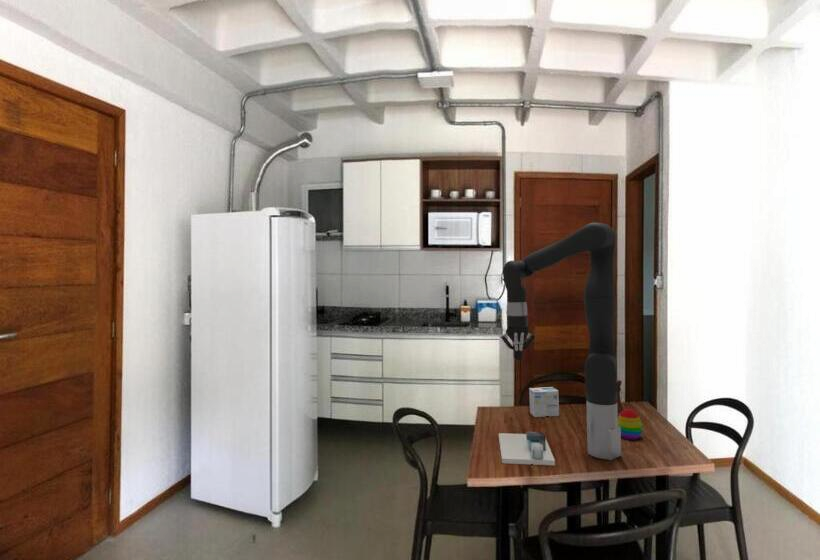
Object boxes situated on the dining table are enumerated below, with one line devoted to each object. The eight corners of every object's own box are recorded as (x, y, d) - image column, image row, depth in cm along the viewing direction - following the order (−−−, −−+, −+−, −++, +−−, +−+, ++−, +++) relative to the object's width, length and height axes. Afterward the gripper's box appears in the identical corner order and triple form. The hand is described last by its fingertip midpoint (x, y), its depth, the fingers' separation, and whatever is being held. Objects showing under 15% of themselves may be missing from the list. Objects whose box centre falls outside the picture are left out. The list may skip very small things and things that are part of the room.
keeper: (545, 450, 142) (545, 436, 142) (527, 450, 143) (526, 435, 143) (544, 447, 145) (544, 432, 145) (526, 446, 146) (525, 432, 146)
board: (555, 465, 135) (554, 460, 135) (502, 463, 137) (502, 458, 137) (544, 438, 156) (544, 434, 156) (498, 437, 159) (498, 433, 159)
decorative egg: (645, 436, 157) (644, 408, 156) (638, 443, 151) (638, 414, 150) (620, 431, 162) (620, 404, 162) (613, 437, 156) (613, 409, 156)
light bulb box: (553, 411, 187) (552, 386, 187) (559, 416, 180) (559, 390, 180) (529, 412, 186) (528, 387, 186) (534, 417, 180) (533, 391, 180)
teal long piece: (544, 458, 135) (543, 447, 135) (532, 458, 136) (531, 447, 136) (537, 439, 151) (536, 429, 151) (526, 438, 152) (526, 428, 152)
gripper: (502, 315, 159) (503, 363, 159) (537, 314, 160) (538, 361, 160) (496, 313, 166) (497, 359, 166) (530, 312, 167) (531, 357, 167)
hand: (517, 360), depth 163 cm, fingers closed
